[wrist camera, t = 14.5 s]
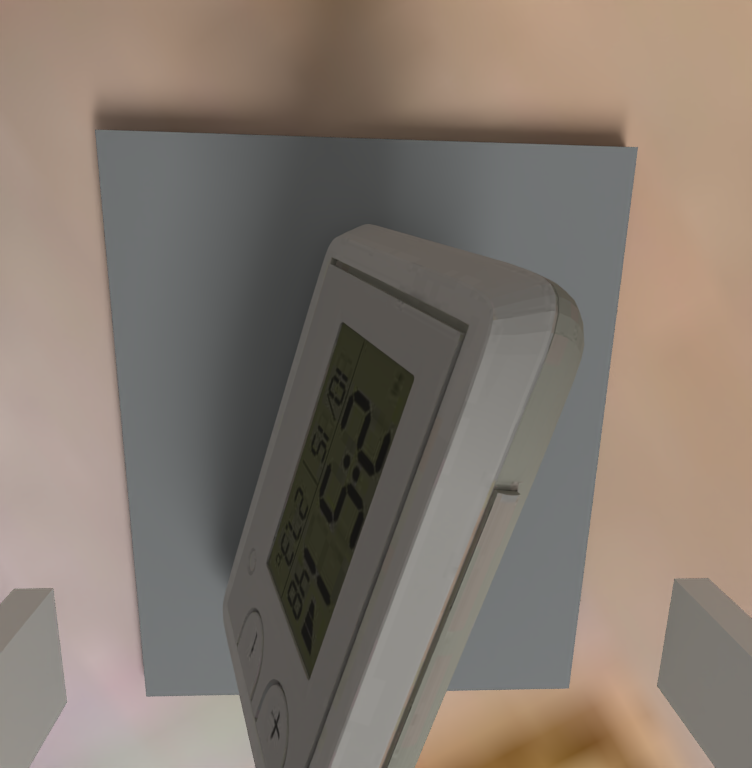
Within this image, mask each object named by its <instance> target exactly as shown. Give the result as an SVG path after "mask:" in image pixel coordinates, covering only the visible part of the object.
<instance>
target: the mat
mask: <svg viewBox="0 0 752 768" xmlns="http://www.w3.org/2000/svg"><path fill="white" fill-rule="evenodd" d="M95 134H96V145H97V156H98V167H99V178H100V189H101V200H102V211H103V222H104V233H105V245H106V256H107V267H108V278H109V289H110V300H111V311H112V322H113V333H114V344H115V355H116V366H117V377H118V388H119V399H120V410H121V422H122V433H123V444H124V455H125V466H126V477H127V488H128V499H129V510H130V521H131V532H132V543H133V554H134V565H135V576H136V587H137V599H138V610H139V621H140V632H141V643H142V654H143V665H144V676H145V687H146V696H196V695H239V691H238V687H237V682H236V678H235V673H234V669H233V664H232V660H231V655H230V651H229V647H228V642H227V638H226V633H225V628H224V622H223V601H224V596H225V592H226V588H227V584H228V581H229V577H230V574H231V570H232V567H233V563H234V560H235V556H236V553H237V549H238V546H239V542H240V539H241V536H242V532H243V529H244V526H245V522H246V519H247V515H248V512H249V509H250V505H251V502H252V499H253V495H254V492H255V488H256V485H257V482H258V478H259V475H260V472H261V468H262V465H263V461H264V458H265V455H266V451H267V448H268V445H269V441H270V438H271V434H272V431H273V428H274V424H275V421H276V418H277V414H278V411H279V407H280V404H281V401H282V397H283V394H284V391H285V387H286V384H287V380H288V377H289V374H290V370H291V367H292V363H293V360H294V357H295V353H296V350H297V347H298V343H299V340H300V336H301V333H302V330H303V326H304V323H305V320H306V316H307V313H308V309H309V306H310V303H311V299H312V296H313V293H314V290H315V287H316V283H317V280H318V277H319V274H320V270H321V267H322V264H323V261H324V258H325V255H326V252H327V250H328V247H329V245H330V244H331V242H332V241H333V240H334V239H335V238H336V237H338V236H340V235H342V234H344V233H346V232H348V231H350V230H352V229H355V228H357V227H359V226H361V225H365V224H372V225H377V226H380V227H384V228H387V229H391V230H394V231H398V232H401V233H405V234H408V235H412V236H415V237H419V238H422V239H426V240H429V241H433V242H436V243H440V244H443V245H447V246H450V247H454V248H457V249H461V250H465V251H468V252H472V253H475V254H479V255H482V256H486V257H489V258H493V259H496V260H500V261H503V262H507V263H509V264H512V265H515V266H518V267H521V268H524V269H527V270H529V271H532V272H534V273H537V274H539V275H541V276H543V277H545V278H547V279H549V280H551V281H553V282H555V283H556V284H558V285H559V286H560V287H561V288H563V289H564V290H565V291H566V292H567V293H568V294H569V295H570V296H571V297H572V298H573V299H574V300H575V302H576V304H577V307H578V309H579V311H580V314H581V318H582V321H583V328H584V349H583V354H582V358H581V362H580V365H579V367H578V370H577V373H576V376H575V379H574V382H573V384H572V387H571V389H570V392H569V394H568V397H567V399H566V402H565V404H564V407H563V409H562V412H561V415H560V417H559V420H558V422H557V425H556V427H555V430H554V432H553V435H552V437H551V440H550V442H549V445H548V447H547V450H546V452H545V455H544V457H543V460H542V462H541V465H540V467H539V469H538V472H537V474H536V477H535V479H534V482H533V484H532V486H531V489H530V491H529V494H528V496H527V498H526V501H525V503H524V506H523V508H522V510H521V513H520V515H519V518H518V520H517V523H516V525H515V527H514V530H513V532H512V535H511V537H510V539H509V542H508V544H507V547H506V549H505V551H504V554H503V556H502V559H501V561H500V563H499V566H498V568H497V571H496V573H495V575H494V578H493V580H492V583H491V585H490V587H489V590H488V592H487V595H486V597H485V599H484V602H483V604H482V607H481V609H480V611H479V614H478V616H477V619H476V621H475V623H474V626H473V628H472V631H471V633H470V635H469V638H468V640H467V643H466V645H465V647H464V650H463V652H462V655H461V657H460V659H459V662H458V664H457V667H456V669H455V672H454V674H453V676H452V679H451V681H450V684H449V686H448V688H447V691H459V690H511V689H564V688H569V683H570V675H571V668H572V660H573V652H574V644H575V636H576V628H577V620H578V613H579V605H580V597H581V589H582V581H583V573H584V566H585V558H586V550H587V542H588V534H589V526H590V519H591V511H592V503H593V495H594V487H595V479H596V471H597V464H598V456H599V448H600V440H601V432H602V424H603V417H604V409H605V401H606V393H607V385H608V377H609V370H610V362H611V354H612V346H613V338H614V330H615V322H616V315H617V307H618V299H619V291H620V283H621V275H622V268H623V260H624V252H625V244H626V236H627V228H628V221H629V213H630V205H631V197H632V189H633V181H634V173H635V166H636V158H637V150H638V147H611V146H581V145H550V144H520V143H489V142H459V141H428V140H397V139H367V138H336V137H306V136H275V135H245V134H214V133H184V132H153V131H123V130H95Z"/></svg>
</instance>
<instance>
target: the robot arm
mask: <svg viewBox="0 0 752 768" xmlns="http://www.w3.org/2000/svg"><path fill="white" fill-rule="evenodd" d="M657 686H658V688H659V689H660V690H661V692H662V693H663V695H664V696H665V698H666V699H667V700H668V702H669V703H670V705H671V706H672V707H673V709H674V710H675V712H676V713H677V714H678V716H679V717H680V719H681V720H682V721H683V723H684V724H685V726H686V727H687V728H688V730H689V731H690V733H691V734H692V735H693V737H694V738H695V740H696V741H697V742H698V744H699V745H700V747H701V748H702V749H703V751H704V752H705V754H706V755H707V757H708V758H709V759H710V761H711V762H712V764H713V765H714V766H715V768H752V618H751V617H750V616H749V615H747V614H746V613H745V612H744V611H743V610H742V609H741V608H740V607H739V606H738V605H737V604H736V603H734V602H733V601H732V600H731V599H730V598H729V597H728V596H727V595H726V594H725V593H724V592H723V591H721V590H720V589H719V588H718V587H717V586H716V585H715V584H714V583H713V582H712V581H711V580H709V579H708V578H686V579H674V584H673V590H672V596H671V603H670V609H669V615H668V621H667V628H666V634H665V640H664V646H663V652H662V659H661V665H660V671H659V677H658V683H657ZM66 703H67V698H66V690H65V681H64V673H63V665H62V657H61V648H60V640H59V632H58V624H57V616H56V607H55V599H54V591H53V588H36V589H14V590H13V591H12V592H11V593H10V594H9V595H8V596H7V597H6V598H5V599H4V600H3V601H2V603H1V604H0V768H29V767H30V765H31V763H32V761H33V760H34V758H35V756H36V755H37V753H38V751H39V749H40V748H41V746H42V744H43V743H44V741H45V739H46V737H47V736H48V734H49V732H50V731H51V729H52V727H53V725H54V724H55V722H56V720H57V719H58V717H59V715H60V713H61V712H62V710H63V708H64V706H65V705H66Z"/></svg>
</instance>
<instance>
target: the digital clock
mask: <svg viewBox="0 0 752 768" xmlns="http://www.w3.org/2000/svg"><path fill="white" fill-rule="evenodd" d="M583 349H584V328H583V321H582V318H581V314H580V311H579V309H578V307H577V304H576V302H575V300H574V299H573V298H572V297H571V296H570V295H569V294H568V293H567V292H566V291H565V290H564V289H563V288H561V287H560V286H559V285H558V284H556V283H555V282H553V281H551V280H549V279H547V278H545V277H543V276H541V275H539V274H537V273H534V272H532V271H529V270H527V269H524V268H521V267H518V266H515V265H512V264H509V263H507V262H503V261H500V260H496V259H493V258H489V257H486V256H482V255H479V254H475V253H472V252H468V251H465V250H461V249H457V248H454V247H450V246H447V245H443V244H440V243H436V242H433V241H429V240H426V239H422V238H419V237H415V236H412V235H408V234H405V233H401V232H398V231H394V230H391V229H387V228H384V227H380V226H377V225H372V224H365V225H361V226H359V227H357V228H355V229H352V230H350V231H348V232H346V233H344V234H342V235H340V236H338V237H336V238H335V239H334V240H333V241H332V242H331V244H330V245H329V247H328V250H327V252H326V255H325V258H324V261H323V264H322V267H321V270H320V274H319V277H318V280H317V283H316V287H315V290H314V293H313V296H312V299H311V303H310V306H309V309H308V313H307V316H306V320H305V323H304V326H303V330H302V333H301V336H300V340H299V343H298V347H297V350H296V353H295V357H294V360H293V363H292V367H291V370H290V374H289V377H288V380H287V384H286V387H285V391H284V394H283V397H282V401H281V404H280V407H279V411H278V414H277V418H276V421H275V424H274V428H273V431H272V434H271V438H270V441H269V445H268V448H267V451H266V455H265V458H264V461H263V465H262V468H261V472H260V475H259V478H258V482H257V485H256V488H255V492H254V495H253V499H252V502H251V505H250V509H249V512H248V515H247V519H246V522H245V526H244V529H243V532H242V536H241V539H240V542H239V546H238V549H237V553H236V556H235V560H234V563H233V567H232V570H231V574H230V577H229V581H228V584H227V588H226V592H225V596H224V601H223V622H224V628H225V633H226V638H227V642H228V647H229V651H230V655H231V660H232V664H233V669H234V673H235V678H236V682H237V687H238V691H239V695H240V700H241V704H242V709H243V713H244V718H245V722H246V727H247V731H248V736H249V740H250V744H251V749H252V753H253V758H254V762H255V767H256V768H415V765H416V763H417V760H418V758H419V756H420V753H421V751H422V748H423V746H424V744H425V741H426V739H427V736H428V734H429V732H430V729H431V727H432V724H433V722H434V720H435V717H436V715H437V712H438V710H439V708H440V705H441V703H442V700H443V698H444V696H445V693H446V691H447V688H448V686H449V684H450V681H451V679H452V676H453V674H454V672H455V669H456V667H457V664H458V662H459V659H460V657H461V655H462V652H463V650H464V647H465V645H466V643H467V640H468V638H469V635H470V633H471V631H472V628H473V626H474V623H475V621H476V619H477V616H478V614H479V611H480V609H481V607H482V604H483V602H484V599H485V597H486V595H487V592H488V590H489V587H490V585H491V583H492V580H493V578H494V575H495V573H496V571H497V568H498V566H499V563H500V561H501V559H502V556H503V554H504V551H505V549H506V547H507V544H508V542H509V539H510V537H511V535H512V532H513V530H514V527H515V525H516V523H517V520H518V518H519V515H520V513H521V510H522V508H523V506H524V503H525V501H526V498H527V496H528V494H529V491H530V489H531V486H532V484H533V482H534V479H535V477H536V474H537V472H538V469H539V467H540V465H541V462H542V460H543V457H544V455H545V452H546V450H547V447H548V445H549V442H550V440H551V437H552V435H553V432H554V430H555V427H556V425H557V422H558V420H559V417H560V415H561V412H562V409H563V407H564V404H565V402H566V399H567V397H568V394H569V392H570V389H571V387H572V384H573V382H574V379H575V376H576V373H577V370H578V367H579V365H580V362H581V358H582V354H583Z"/></svg>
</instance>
